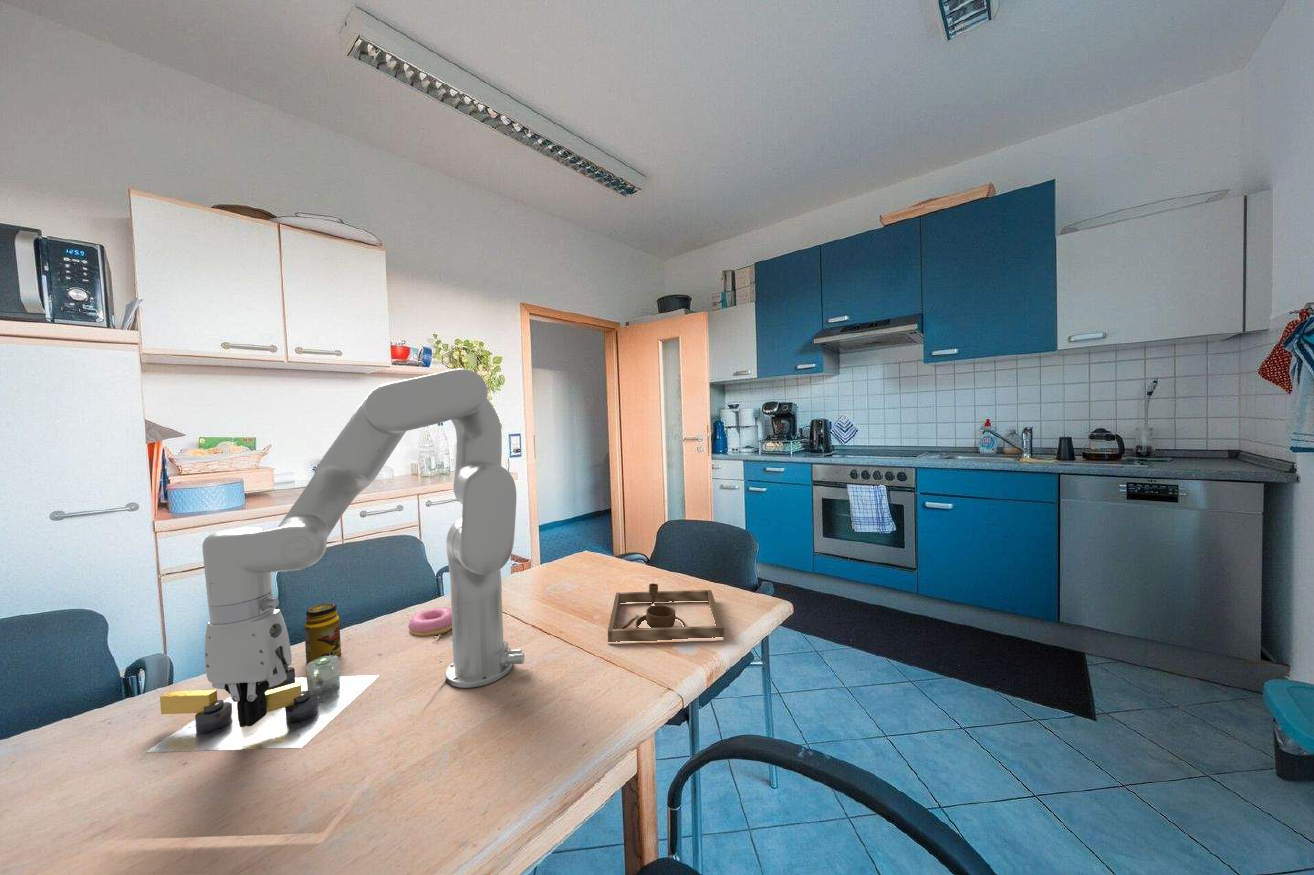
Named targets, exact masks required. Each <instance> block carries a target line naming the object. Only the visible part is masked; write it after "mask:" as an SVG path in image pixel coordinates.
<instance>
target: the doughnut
mask: <svg viewBox="0 0 1314 875" xmlns="http://www.w3.org/2000/svg"><path fill="white" fill-rule="evenodd" d="M408 630H409V633H410V634H412V635H414V636H419V637H420V636H421V637H423V636H425V637H426V636H431V635H434V637H436V636H440V635H443V634H445V633H447V632H449V631H452V614H451V607H450V608H449V607H432V608H428V609H425V610H421V611H419V613H415V615H413V616H412V617H411V619H409V623H408Z"/></svg>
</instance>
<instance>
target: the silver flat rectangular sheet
mask: <svg viewBox="0 0 1314 875" xmlns="http://www.w3.org/2000/svg"><path fill="white" fill-rule="evenodd" d="M305 670H306V676H305V677H295V683H297V682H300V681H301V691H310V693H316V694H317V695H318V711H317V712H316V713H315V714H314V715H313V716H311V717H309V718H307V719H305V720H302V721H299V722H293V723H290V722H287V721H286V714H285V707H284V708H281V709H278V710H274V711H271V712H268V713H266V715H265V716H264V717H263V718H261V719H260V720H259V721H258V722H256V723H255V724H254V725H252V726H248V727H247V726H245V727H240V726H239V721H238V713H237V702H233V701H232V698H231V695H230V696H229V697H227V698H225V699H224V700H223V701H224V702H230V703H232V714H233V719H232V721H231V722H230V723H228V724H227V725H225V726H224V727H222V728H219V729H217V730H214V731H211V732H207V733H197V732H196V722H195V719H194V720H192V721H190V722H189V723H188V724H186V725H185V726H183V727H181V728H180V729H178V730H177V731H175V732H174V733H172V734H170V735H169V736H167V737H166V738H164V739H162V740H161V741H159V743H157V744H155V745H153V746H152V747H151V748H149V749H148V750H146V751H144V753H173V752H175V753H176V752H177V753H179V752H180V753H181V752H204V751H205V752H206V751H207V752H210V751H235V750H236V751H237V750H239V751H240V750H241V751H243V750H270V749H271V750H272V749H300V748H303V747H305V746H306V744H308V742H310V741H311V740H312V739H313V738H314V737H315V736H316V735H317V734H318V733H319V732H321V731H322V729H324V728H325V727H326V726H327V725H328V724H329V723H330V722H331V721H332V720H333V719H334V718H335V717H337V716H338V715H339V714H340V713H341V712H342V711H343V710H344V709H345V708H346V707H347V706H348V705H350V703H352V702H353V701H354V700H355V699H356V698H357V697H358V696H359V695H361V693H362V692H363V691H365V690H366V689H367V688H368V687H369V686H370V685H371V684H372V683H373V682H374V681H375V680H377V678H379V677H380V676H381V675H379V674H377V675H374V674H373V675H351V676H350V675H349V676H347V675H344V676H341V673H340V672H341V670H340V657H338V656H323V657H320V658H318V659H316V660H313V661H312V662H310V663H309V664H307V663H306V667H305Z"/></svg>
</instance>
